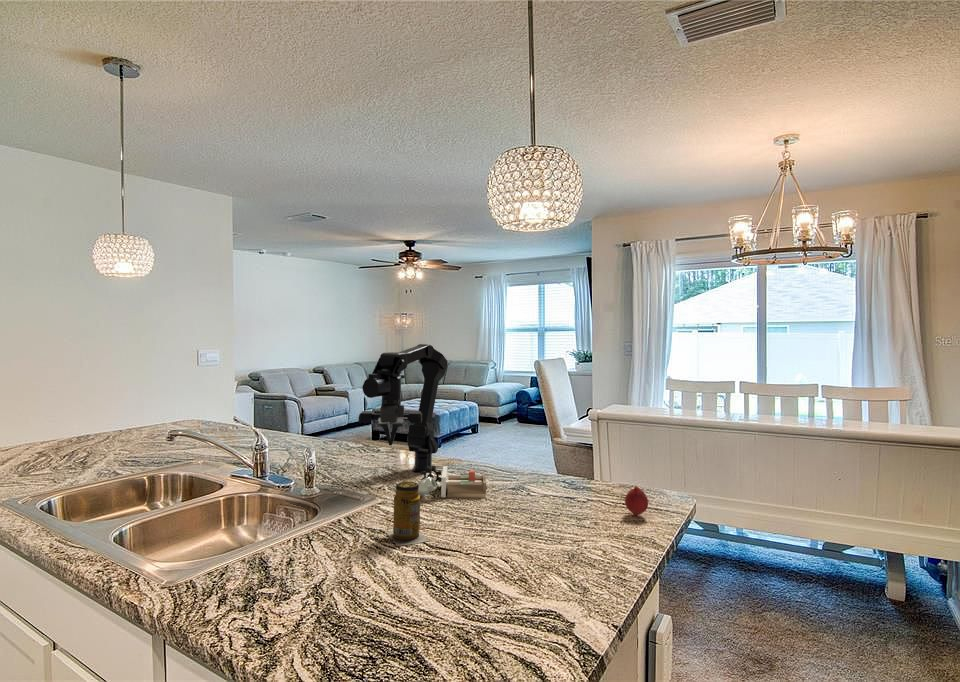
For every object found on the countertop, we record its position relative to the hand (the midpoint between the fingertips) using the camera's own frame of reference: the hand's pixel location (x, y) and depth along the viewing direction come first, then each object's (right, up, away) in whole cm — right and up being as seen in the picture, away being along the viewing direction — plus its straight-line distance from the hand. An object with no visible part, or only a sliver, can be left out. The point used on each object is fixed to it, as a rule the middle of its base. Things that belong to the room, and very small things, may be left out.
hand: (390, 445), depth 156 cm
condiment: (+11, -13, -39) cm, 42 cm away
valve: (+9, -11, -7) cm, 16 cm away
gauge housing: (+23, -13, -6) cm, 27 cm away
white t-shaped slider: (+22, -12, -6) cm, 26 cm away
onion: (+68, -14, -22) cm, 73 cm away
